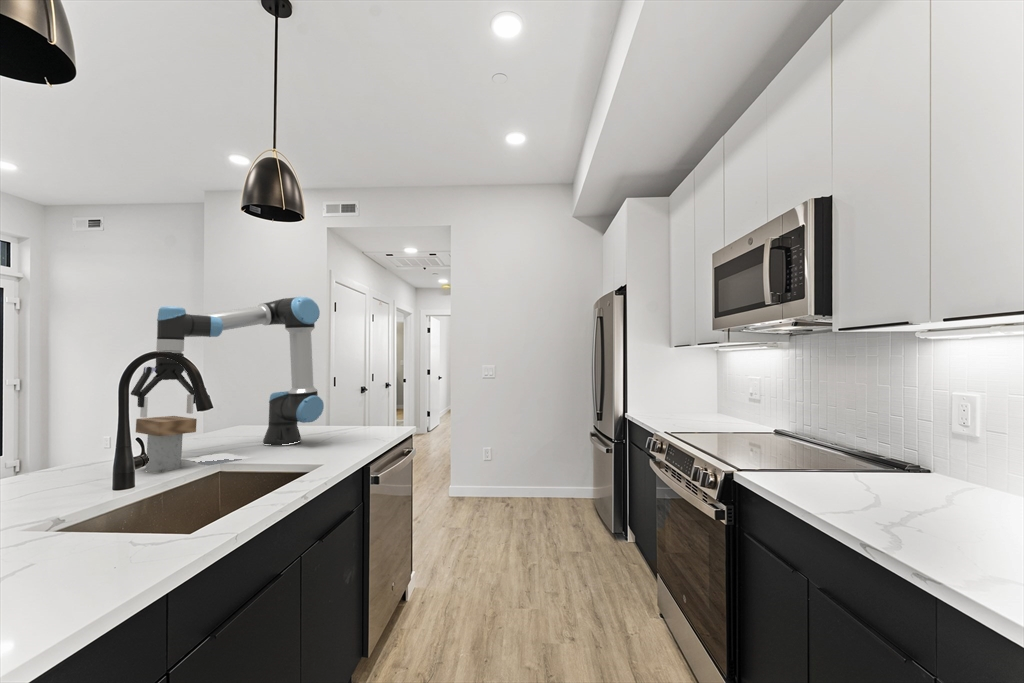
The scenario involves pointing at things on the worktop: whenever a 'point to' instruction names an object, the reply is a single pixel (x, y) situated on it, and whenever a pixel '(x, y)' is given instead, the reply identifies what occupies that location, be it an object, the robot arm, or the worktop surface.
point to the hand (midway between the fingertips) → (167, 415)
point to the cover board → (165, 425)
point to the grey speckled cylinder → (164, 452)
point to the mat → (217, 461)
